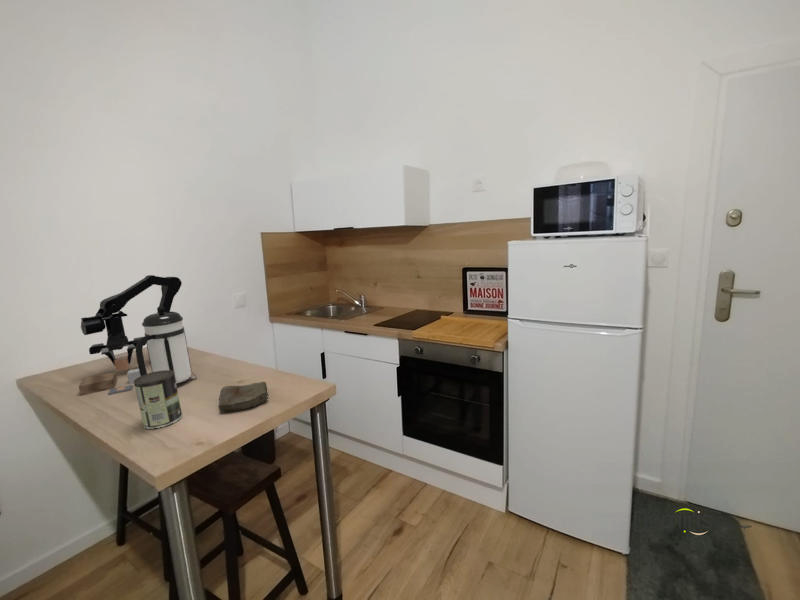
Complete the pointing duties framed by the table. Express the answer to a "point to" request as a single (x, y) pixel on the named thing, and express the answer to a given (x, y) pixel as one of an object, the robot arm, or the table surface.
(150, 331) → the coffee press
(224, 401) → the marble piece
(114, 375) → the walnut block
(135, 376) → the grey cube
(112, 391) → the card
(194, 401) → the table surface
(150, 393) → the coffee can
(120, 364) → the terracotta cube
